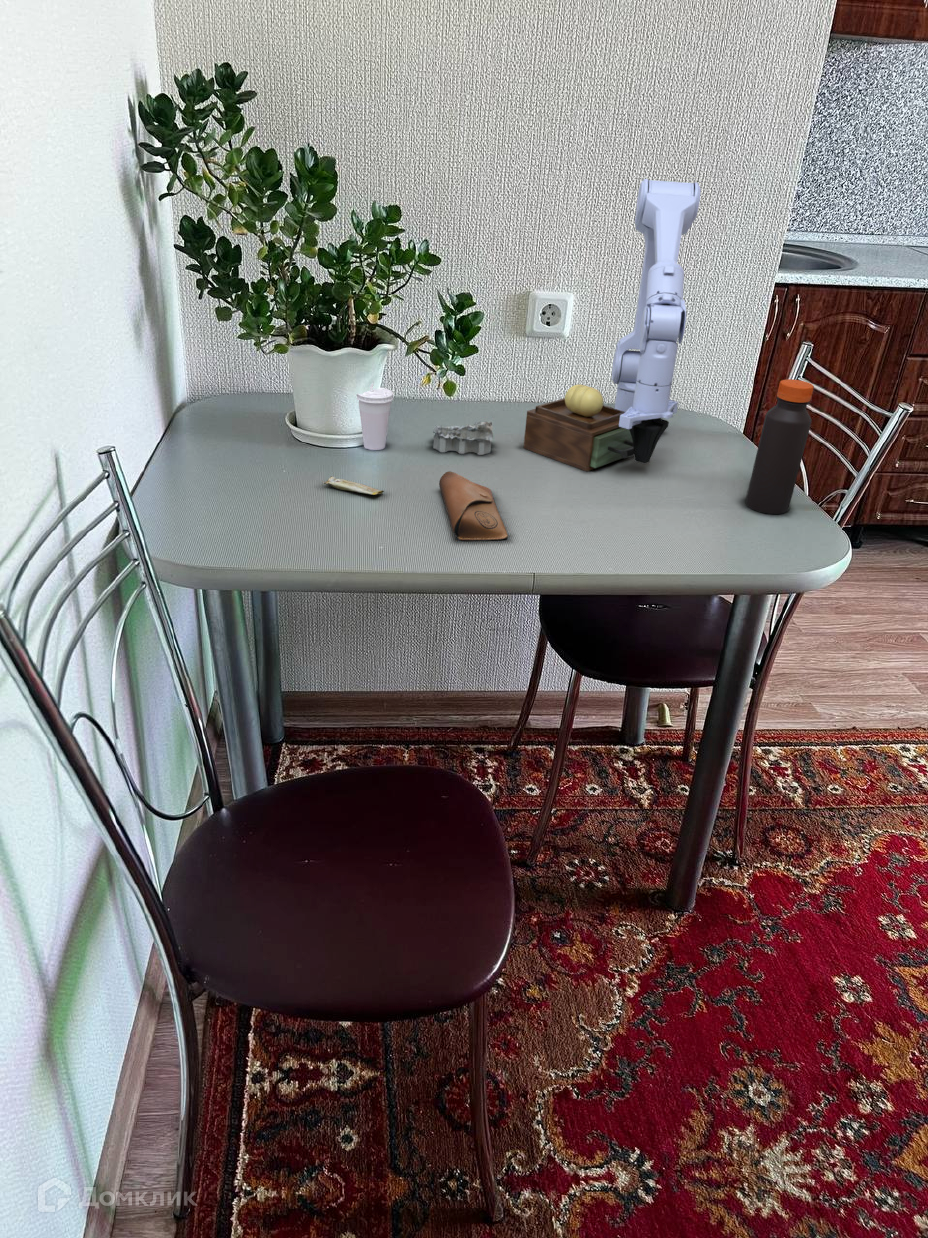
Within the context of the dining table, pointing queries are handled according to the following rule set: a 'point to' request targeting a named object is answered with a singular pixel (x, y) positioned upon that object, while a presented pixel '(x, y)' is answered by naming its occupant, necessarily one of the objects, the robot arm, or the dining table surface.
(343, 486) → the snack bar
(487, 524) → the sunglasses case
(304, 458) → the dining table surface
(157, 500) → the dining table surface
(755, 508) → the bottle
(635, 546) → the dining table surface
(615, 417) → the brown wooden tray
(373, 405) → the smoothie
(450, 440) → the egg carton
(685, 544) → the dining table surface
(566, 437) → the cabinet
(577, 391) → the pale yellow lobed ovoid
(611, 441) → the drawer
